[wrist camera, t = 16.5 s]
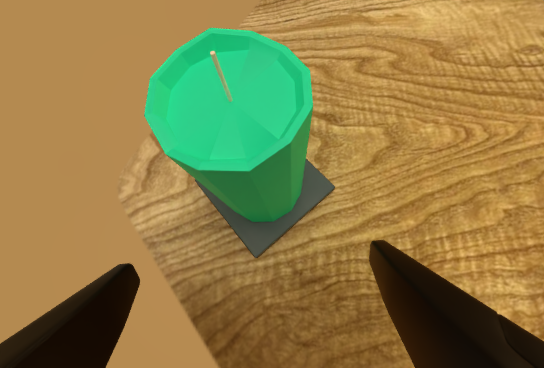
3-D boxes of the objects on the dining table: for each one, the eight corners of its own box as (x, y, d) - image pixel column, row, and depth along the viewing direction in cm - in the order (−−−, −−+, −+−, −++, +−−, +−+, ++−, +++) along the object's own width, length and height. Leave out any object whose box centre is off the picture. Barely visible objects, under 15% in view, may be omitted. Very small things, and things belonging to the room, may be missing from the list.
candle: (219, 162, 19) (106, 11, 7) (288, 142, 19) (284, -39, 7) (234, 232, 17) (113, 178, 5) (312, 210, 17) (355, 108, 5)
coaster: (333, 189, 18) (335, 187, 17) (257, 258, 17) (255, 258, 16) (269, 126, 20) (268, 121, 19) (198, 183, 19) (194, 179, 18)
